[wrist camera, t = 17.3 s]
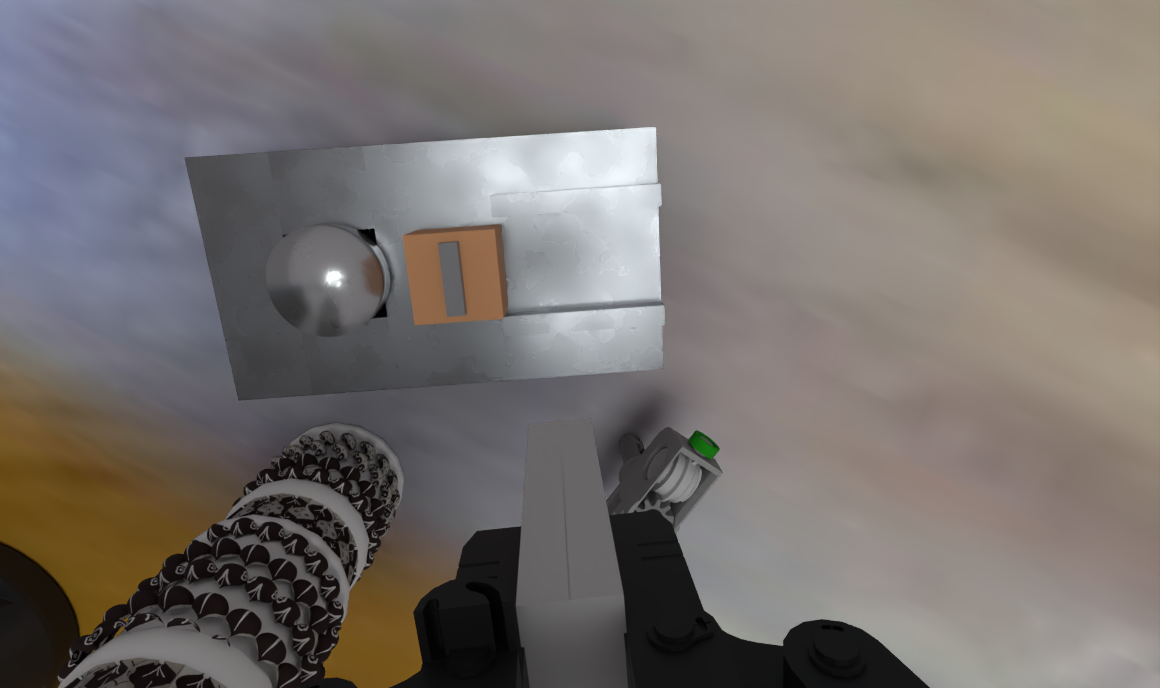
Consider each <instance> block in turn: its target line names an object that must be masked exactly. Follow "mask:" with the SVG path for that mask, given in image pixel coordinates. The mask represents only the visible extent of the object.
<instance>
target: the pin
mask: <svg viewBox="0 0 1160 688" xmlns="http://www.w3.org/2000/svg"><path fill="white" fill-rule="evenodd" d="M266 285H267V290H268V294H269V296H270V299H271V301H272V303H273V305H274V306H275V308H276V309H277V311H278V312H279V313H280V315H281V316H282V317H283V318H284V319H285V320H286V321H287V322H289V323H290V324H291V325H293V326H294V327H296V328H297V329H299V330H301V331H303V332H305V333H308V334H311V335H315V336H320V337H337V336H342V335H346V334H348V333H351V332H353V331H355V330H357V329H358V328H360V327H361V326H362V325H364V324H365V323H366V322H368V321H369V320H370V319H372V318H373V317H374V316H375V315H376V314H377V313H378V312H379V311H380V310H381V308H382V307H383V305H384V303H385V301H386V299H387V296H388V294H389V288H390V273H389V268H388V265H387V262H386V259H385V257H384V255H383V253H382V252H381V250H380V249H379V247H378V246H377V242H376V235H375V233H373V234H370V235H365V234H364V233H362V232H361V231H359V230H357V229H355V228H352V227H350V226H347V225H343V224H336V223H326V224H319V225H314V226H309V227H304V228H301V229H298V230H295V231H293V232H291V233H289V234H288V235H286V236H285V237H284V238H283V239H281V240H280V241H279V242H278V244H277V245H276V246H275V247H274V249H273V251H272V252H271V254H270V257H269V259H268V263H267V267H266Z"/></svg>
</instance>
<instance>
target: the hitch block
mask: <svg viewBox="0 0 1160 688" xmlns="http://www.w3.org/2000/svg"><path fill="white" fill-rule="evenodd" d="M185 161H186V166H187V170H188V175H189V179H190V184H191V188H192V193H193V197H194V202H195V206H196V211H197V215H198V220H199V224H200V229H201V233H202V238H203V242H204V247H205V251H206V256H207V260H208V265H209V269H210V274H211V278H212V283H213V287H214V292H215V296H216V301H217V305H218V310H219V314H220V319H221V323H222V328H223V332H224V337H225V341H226V346H227V350H228V355H229V359H230V364H231V368H232V373H233V377H234V382H235V386H236V391H237V395H238V400H252V399H265V398H279V397H292V396H306V395H319V394H333V393H346V392H360V391H373V390H387V389H400V388H414V387H427V386H440V385H454V384H467V383H481V382H494V381H508V380H521V379H535V378H548V377H562V376H575V375H589V374H602V373H616V372H629V371H643V370H656V369H663V348H662V325H665V305H664V304H663V303H662V302H661V283H660V250H659V217H658V206H662V203H661V184H657V152H656V127H648V128H632V129H617V130H601V131H586V132H571V133H555V134H540V135H525V136H509V137H494V138H479V139H463V140H448V141H433V142H417V143H402V144H386V145H371V146H356V147H340V148H325V149H310V150H294V151H279V152H264V153H248V154H233V155H218V156H202V157H187V158H185ZM326 223H336V224H343V225H347V226H350V227H352V228H355V229H357V230H358V229H373V228H374V229H375V235H376V242H377V246H378V247H379V249H380V250H381V252H382V253H383V255H384V257H385V259H386V262H387V265H388V268H389V273H390V288H389V294H388V296H387V299H386V301H385V303H384V305H383V307H382V308H381V310H380V311H379V312H378V313H377V314H376V315H375V316H374V317H373V318H372V319H370V320H369V321H368V322H366V323H365V324H364V325H362V326H361V327H360V328H358V329H357V330H355V331H353V332H351V333H348V334H346V335H342V336H337V337H320V336H315V335H311V334H308V333H305V332H303V331H301V330H299V329H297V328H296V327H294V326H293V325H291V324H290V323H289V322H287V321H286V320H285V319H284V318H283V317H282V316H281V315H280V313H279V312H278V311H277V309H276V308H275V306H274V305H273V303H272V301H271V299H270V296H269V294H268V290H267V285H266V267H267V263H268V259H269V257H270V254H271V252H272V251H273V249H274V247H275V246H276V245H277V244H278V242H279V241H280V240H281V239H283V238H284V237H285V236H286V235H288V234H289V233H291V232H293V231H295V230H298V229H301V228H304V227H309V226H314V225H319V224H326ZM499 224H500V225H501V235H502V245H503V256H504V266H505V276H506V287H507V297H508V308H507V311H506V313H505V316H504V319H494V320H480V321H467V322H453V323H439V324H425V325H415V324H414V317H413V310H412V302H411V295H410V288H409V281H408V273H407V266H406V259H405V252H404V245H403V237H402V235H405V234H408V233H411V232H413V231H416V230H426V229H441V228H455V227H470V226H485V225H499Z"/></svg>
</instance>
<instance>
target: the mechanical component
mask: <svg viewBox="0 0 1160 688" xmlns="http://www.w3.org/2000/svg"><path fill="white" fill-rule="evenodd" d="M620 450H621V454H622V458H623V462H624V464H623V465H622V467H621V469H620V472H619V481H620V484H619V485H618V486H617V488H616V489H615V490H614V492H613V493H612V494H611V496H610V497H609V498H608V499H607V501H606V503H607V508H608V514H609V515H615V514H624V513H633V512H643V511H652V510H656V511H658V512H659V513H660V514H661V515H662V516H664V517H665V518H666V519H667V520H669V521H670V522H671V523H672V525H673V528H674V531H675V534H677V532H678V530H679V528H680V525H681V523H682V522H683V521H684V520H685V519H686V517H687V516H688V515H689V514H690V512H691V511H692V510H693V509H694V507H695V506H696V505H697V504H698V502H699V501H700V500H701V499H702V498H703V496H704V495H705V494H706V493H707V491H708V490H709V489H710V488H711V486H712V485H713V484H714V483H715V481H716V480H717V479H718V478H719V477H720V475H721V474H722V473H723V472H722V470H721V469H720V467H719V465H718V463H717V462H716V460H715V459H714V458H713V457H714V456H715V455H716V453H717V452H718V451H719V450H720V449H719V447H718V446H717V444H716V443H715V442H713V441H712V440H711V439H710V438H709V437H707V436H706V435H705V434H703V433H701V432H699V431H697V430H696V431H695V432H694V433H693V435H692V436H691V437H690V439H689V440H688V439H687V438H685V437H684V436H682V435H681V434H679V433H678V432H676V431H675V430H673V429H672V428H670V427H667V428H665V429H663V430H662V431H661V432H660V433H659V434H658V435H657V436H656V437H655V438H654V440H653V441H652V442H651V444H650V445H649V446H648V448H647V449H646V450H645V449H644V446H643V443H642V441H641V439H638V440H636V439H635V437H634V436H633V435H632V434H627V435H625V436H623V437H622V438H621V440H620ZM700 469H701V470H702V477H701V481H700V483H699V486H698V487H697V489H696V491H695V492H694V493H693V495H692V496H691V497H690V498H689V499H687V500H686V501H684V502H681V500H683V499H684V498H685V497H686V496H687V495H688V494H689V493H690V492H691V491H692V490H693V488H694V486H695V485H696V483H697V480H698V476H699V472H700Z"/></svg>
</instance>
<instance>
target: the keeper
mask: <svg viewBox="0 0 1160 688" xmlns="http://www.w3.org/2000/svg"><path fill="white" fill-rule="evenodd" d="M402 237H403V245H404V252H405V259H406V266H407V273H408V281H409V288H410V295H411V302H412V310H413V317H414V324H415V325H425V324H439V323H453V322H467V321H480V320H494V319H504V316H505V313H506V311H507V308H508V297H507V287H506V276H505V266H504V256H503V245H502V235H501V225H500V224H499V225H485V226H470V227H455V228H441V229H426V230H416V231H413V232H411V233H408V234H405V235H402Z"/></svg>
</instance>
